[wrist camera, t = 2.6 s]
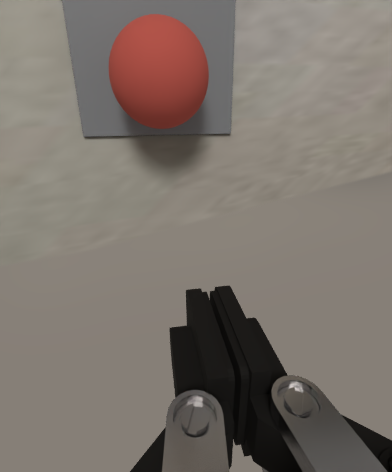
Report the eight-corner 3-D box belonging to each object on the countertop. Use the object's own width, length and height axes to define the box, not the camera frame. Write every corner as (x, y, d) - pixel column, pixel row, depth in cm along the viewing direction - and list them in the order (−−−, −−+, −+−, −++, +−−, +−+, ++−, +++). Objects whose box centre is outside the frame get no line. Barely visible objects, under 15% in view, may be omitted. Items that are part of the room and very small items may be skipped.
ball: (160, 144, 22) (167, 153, 16) (94, 81, 19) (76, 67, 14) (215, 82, 21) (242, 70, 15) (152, 8, 18) (158, -39, 13)
